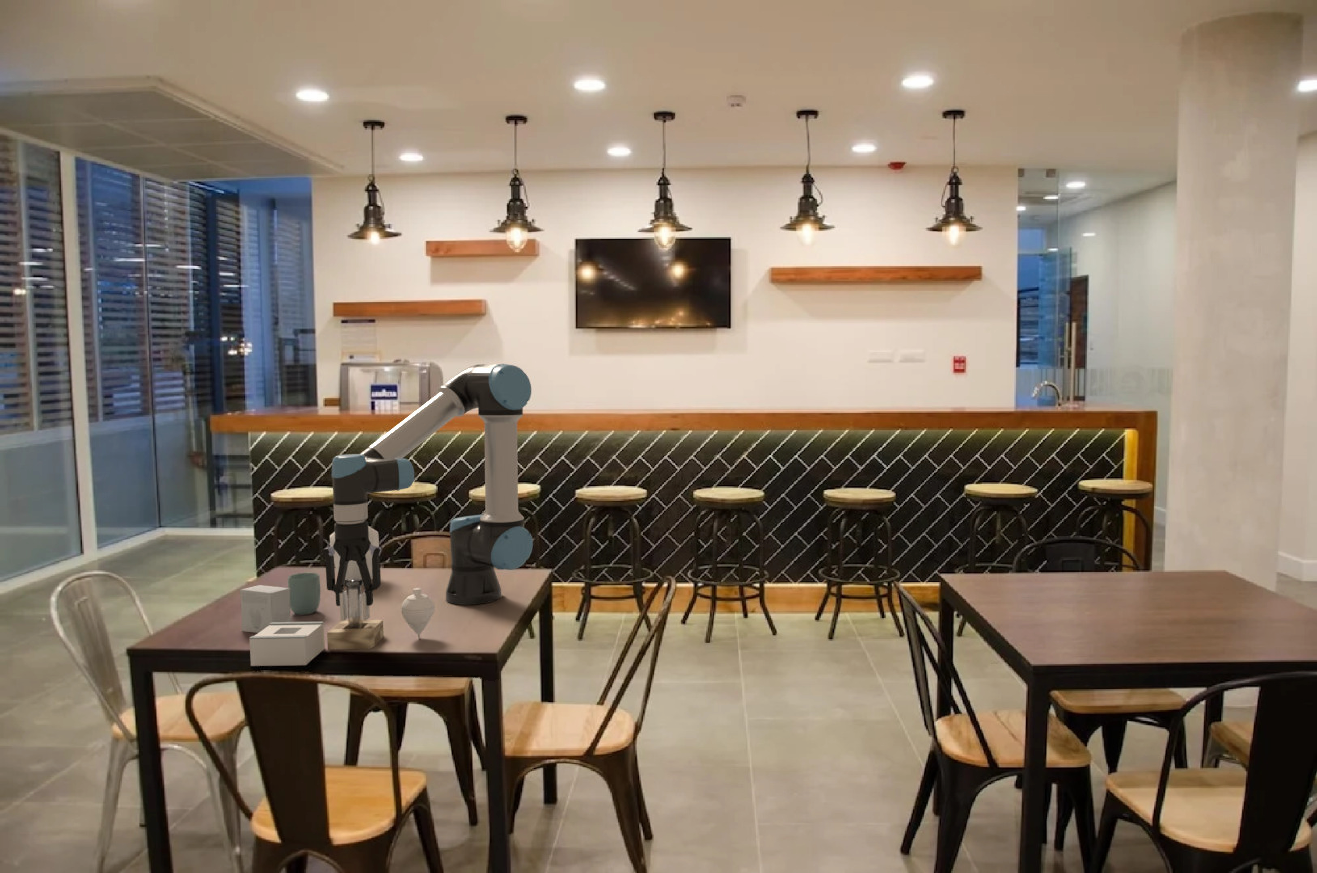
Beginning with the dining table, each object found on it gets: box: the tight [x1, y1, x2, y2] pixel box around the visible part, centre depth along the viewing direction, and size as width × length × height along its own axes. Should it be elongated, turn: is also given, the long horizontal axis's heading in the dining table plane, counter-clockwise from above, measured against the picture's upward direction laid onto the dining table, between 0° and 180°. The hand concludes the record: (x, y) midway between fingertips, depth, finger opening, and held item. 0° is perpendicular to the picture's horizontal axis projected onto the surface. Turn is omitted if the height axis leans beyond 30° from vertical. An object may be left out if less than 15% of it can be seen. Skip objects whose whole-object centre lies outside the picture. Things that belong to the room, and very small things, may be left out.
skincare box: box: [239, 584, 292, 634], centre depth 233 cm, size 10×6×10 cm, turn 66°
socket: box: [249, 621, 326, 667], centre depth 212 cm, size 12×12×6 cm
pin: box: [344, 578, 364, 629], centre depth 221 cm, size 4×4×15 cm
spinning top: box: [400, 587, 435, 639], centre depth 225 cm, size 8×8×12 cm
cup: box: [287, 572, 321, 616], centre depth 248 cm, size 8×8×10 cm
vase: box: [329, 525, 380, 584], centre depth 284 cm, size 14×14×25 cm
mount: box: [326, 619, 385, 650], centre depth 222 cm, size 10×10×4 cm
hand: (355, 618), depth 222 cm, fingers open, 4 cm apart
